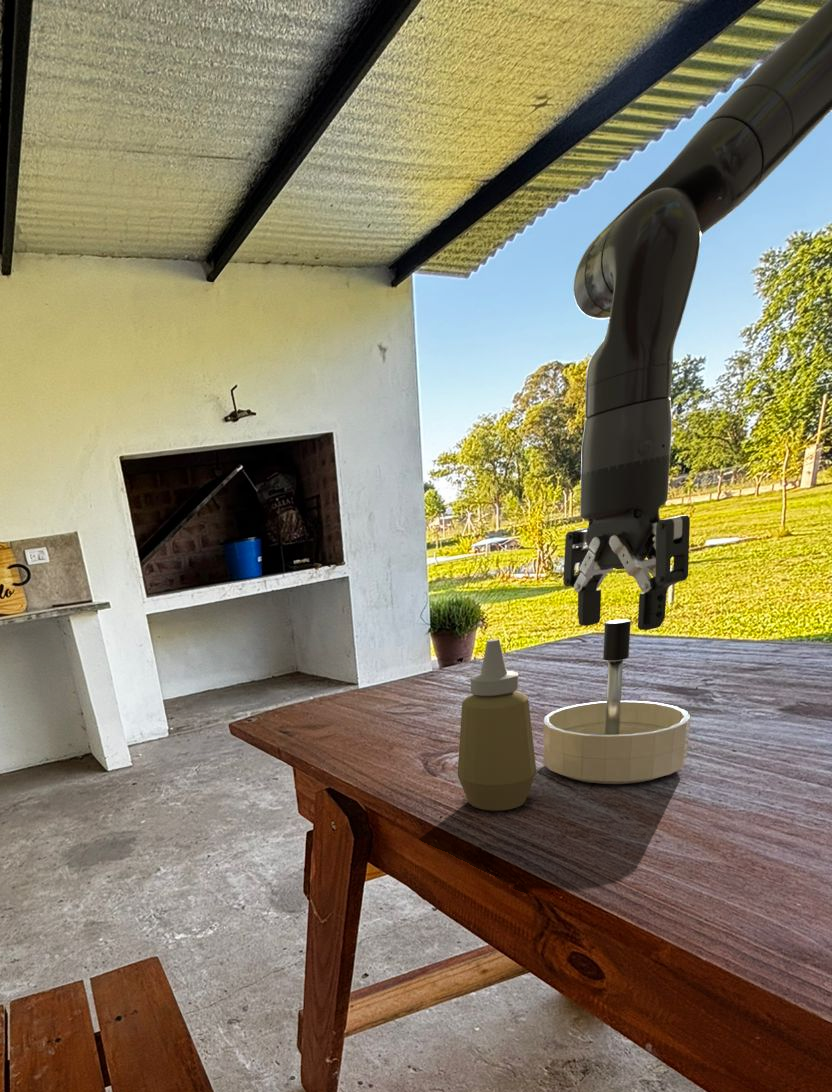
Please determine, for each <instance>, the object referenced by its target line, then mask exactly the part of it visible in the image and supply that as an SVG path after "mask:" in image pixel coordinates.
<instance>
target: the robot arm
mask: <svg viewBox="0 0 832 1092" xmlns="http://www.w3.org/2000/svg"><path fill="white" fill-rule="evenodd" d="M831 112H832V0H828V1H827V2H825V3H824V4H823V5H822V6H821V7H820V8H819V9H818V10H817V11H816V12H815V13H814V14H813V15H811V16H810V17H809V18H808V20H806V21H805V22H804V23H803V24H802V25H801V26H800V27H799V28H798V29H797V30H796V31H794V32H793V33H792V34H791V35H790V36H789V37H788V38H787V39H786V40H785V41H783V43H782V44H781V45H780V46H779V47H778V48H777V49H776V50H775V51H774V52H772V53H771V55H769V56H768V57H767V58H766V59H765V60H764V61H763V62H762V63H761V64H760V65H759V66H758V67H757V68H756V69H755V70H754V71H753V72H752V73H751V75H749V76H748V77H747V78H746V79H745V80H744V81H743V83H742V84H740V86H739V87H738V88H736V90H734V92H733V93H732V94H731V95H730V96H729V97H728V99H727V100H726V101H725V102H723V104H722V105H721V106H720V107H719V108H718V109H717V110H716V111H715V112H714V113H713V115H712V116H710V118H709V119H708V120H707V121H706V122H705V123H704V124H703V125H702V126H701V127H700V128H699V130H698V131H696V133H695V134H694V135H693V136H692V137H691V139H690V140H689V141H688V142H687V143H686V145H685V146H684V147H683V149H682V150H681V151H680V152H679V154H677V155H676V157H675V158H674V159H673V160H672V161H671V162H670V163H669V165H668V166H667V167H666V168H665V169H664V170H663V171H662V172H661V173H660V175H659V176H657V177H656V178H655V179H654V180H653V181H652V182H651V183H650V184H649V185H648V186H647V187H646V188H645V189H644V190H642V191H641V192H640V193H639V194H638V196H636V197H635V198H634V199H633V200H632V201H631V202H630V203H629V204H628V205H627V206H626V207H625V208H624V209H623V210H622V211H621V212H620V213H619V214H618V215H616V217H615V218H614V219H613V220H612V221H611V222H610V223H608V225H607V226H606V227H605V228H604V229H603V230H602V231H601V232H600V233H599V234H598V235H597V236H596V237H595V238H594V239H593V240H592V241H591V243H590V244H589V245H588V247H587V248H586V250H585V251H584V253H583V255H582V257H581V259H580V260H579V263H578V266H577V268H576V271H575V274H574V279H573V281H574V282H573V297H574V301H575V303H576V306H577V307H578V309H579V310H580V312H582V313H583V314H584V315H585V316H587V317H589V318H592V319H596V320H606V319H608V324H607V328H606V329H607V330H606V334H605V337H604V338H603V341H602V342H601V344H600V345H599V347H598V348H597V349H596V350H595V351H594V353H593V354H592V355H591V357H590V358H589V361H588V364H587V368H586V375H585V376H586V377H585V378H586V379H585V401H584V402H585V407H584V419H585V421H584V428H583V435H582V442H581V454H580V455H581V459H580V460H581V461H580V463H581V464H580V506H579V507H580V509H579V510H580V511H579V512H580V513H579V515H580V517H581V519H583V520H588V525H587V527H586V528H578V529H575V530H571V531H568V532H567V533H566V534H565V538H564V539H565V540H564V561H563V562H564V563H563V581H562V582H563V585H564V586H565V587H566V588H568V587H572V588H573V589H574V591H575V592H576V593H577V619H578V625H579V626H582V627H587V626H592V625H597V624H599V622H600V621H601V607H602V606H601V605H602V589H599V588H600V587H601V585H602V583H603V581H604V580H605V578H606V576H607V574H609V573H610V572H612V571H613V570H614V569H615V570H625V572H626V574H627V575H628V576H630V577H632V578H634V580H635V582H636V583H637V586H638V587H639V589H640V591H641V592H640V593H639V595H638V611H637V612H638V614H637V629H638V630H640V631H650V630H653V629H658V628H660V627H661V626H662V624H663V622H664V620H665V619H666V609H667V608H666V606H667V595H668V593H667V592H668V590H669V588H670V587H671V586H674V585H675V584H677V583H681V582H684V581H686V580H687V579H688V577H689V563H690V562H689V560H690V531H691V530H690V528H691V524H690V523H691V520H690V517H689V516H688V515H686V514H682V515H678V516H677V515H676V516H674V517H667V518H664V519H661V518H660V508H661V506H663V505H664V504H666V503H667V501H668V496H669V481H670V480H669V479H670V466H671V465H670V464H671V449H672V434H673V417H672V406H671V404H672V402H671V401H672V399H671V397H672V381H673V369H674V368H673V367H674V366H673V365H674V346H675V342H676V339H677V336H678V333H679V330H680V326H681V324H682V320H683V318H684V314H685V310H686V307H687V302H688V299H689V295H690V292H691V289H692V284H693V280H694V277H695V273H696V269H697V264H698V259H699V254H700V246H701V236H702V235H704V234H705V233H706V232H707V231H709V230H710V229H711V228H713V227H714V226H715V225H717V224H718V223H719V222H721V221H722V220H723V219H725V218H726V217H728V216H729V215H730V214H731V213H733V211H735V210H736V209H737V208H738V207H739V206H740V205H741V204H742V203H743V202H745V200H747V199H748V197H750V196H751V194H753V192H755V190H756V189H757V188H759V186H760V185H761V184H763V182H764V181H765V180H766V179H767V178H768V177H769V176H770V175H771V174H772V173H773V172H774V171H775V170H776V169H777V168H778V167H779V166H780V165H781V164H782V163H783V162H784V161H785V160H786V159H787V158H788V157H789V155H791V153H792V152H793V151H795V150H796V148H797V147H798V146H799V145H800V144H801V143H802V142H803V141H804V140H806V138H807V137H808V136H809V135H810V134H811V133H812V132H813V130H814V129H816V127H817V126H818V125H820V123H821V122H822V121H823V120H824V119H825V118H826V117H827V116H829V114H830V113H831ZM672 558H673V569H672V570H671V559H672ZM576 564H578V573H575V570H576V569H575V568H576ZM650 574H651V575H650Z"/></svg>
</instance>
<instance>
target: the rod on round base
mask: <svg viewBox="0 0 832 1092" xmlns="http://www.w3.org/2000/svg"><path fill="white" fill-rule="evenodd" d="M631 623H632V620H631V619H629V618H628V619H627V618H626V619H624V618H622V619H613V620H607V621H605V622H604V631H603V654H602V659H603V660H604V661H607V662H608V663H607V680H606V681H607V682H606V701H607V703H606V725H605V735H619V729H620V710H621V701H622V690H623V688H622V687H623V673H624V671H623V670H624V660H626V659H629V657H630V640H631Z"/></svg>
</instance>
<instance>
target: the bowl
mask: <svg viewBox="0 0 832 1092" xmlns="http://www.w3.org/2000/svg"><path fill="white" fill-rule="evenodd" d="M606 703H607V700H606V701H593V702H587V703H579V704H573V705H570V706H564V707H561V708H558V709H556V710H553V711H551V712H550V713H548V714H547V715H546V716H544V717H543V747H542V748H543V751H542V753H543V754H542V755H543V757H542V759H543V765H544V766H545V767H546V768H547V769H548V770H549V771H551V772H553V773H556V774H559V775H561V776H564V777H567V778H568V779H572V780H576V781H580V782H585V783H592V784H603V785H625V784H626V785H627V784H637V783H642V782H643V783H644V782H648V781H653V780H655V779H659V778H662V777H664V776H665V777H666V776H670V775H672V774H674V773H676V772H677V771H679V770H681V769H683V768H684V766H685V765H686V763H687V759H688V751H689V750H688V749H689V738H690V727H691V718H692V717H691V715H690V714H689V713H688V711H687V710H686V709H683V708H680V707H678V706H675V705H671V704H667V703H661V702H654V701H643V700H621V710H620V729H619V735H605V725H606Z"/></svg>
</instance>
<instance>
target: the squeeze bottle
mask: <svg viewBox="0 0 832 1092" xmlns="http://www.w3.org/2000/svg"><path fill="white" fill-rule="evenodd" d="M469 679H470V695H468V696H467V697H466V698H464V700H462V701H461V715H460V729H459V731H460V732H459V743H458V744H459V747H458V759H457V760H458V762H457V778H458V780H459V782H460V783H459V784H460V785H461V787H462V790H463V792H464V794H465V796H466V799H467V802H468V803H469V804H470V805H471V806H472V807H474V808H477V809H480V810H485V811H492V812H493V811H506V810H507V811H508V810H514V809H516V808H518V807H521V806H523V804H525V802H526V800H527V798H528V795H529V793H530V790H531V787H532V785H533V783H534V780H535V777H536V776H537V764H536V755H535V746H534V736H533V729H532V720H531V711H530V702H529V697H528V695H527V694H525V693H524V692H522V691H519V673H518V672H517V671H513V670H508V668H507V664H506V660H505V656H504V652H503V649H502V644H501V640H500V639H499V638H492V639H487V640H486V645H485V649H484V654H483V659H482V665H481V669H480V673H477V674H474V675H472V676H470V678H469Z"/></svg>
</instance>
